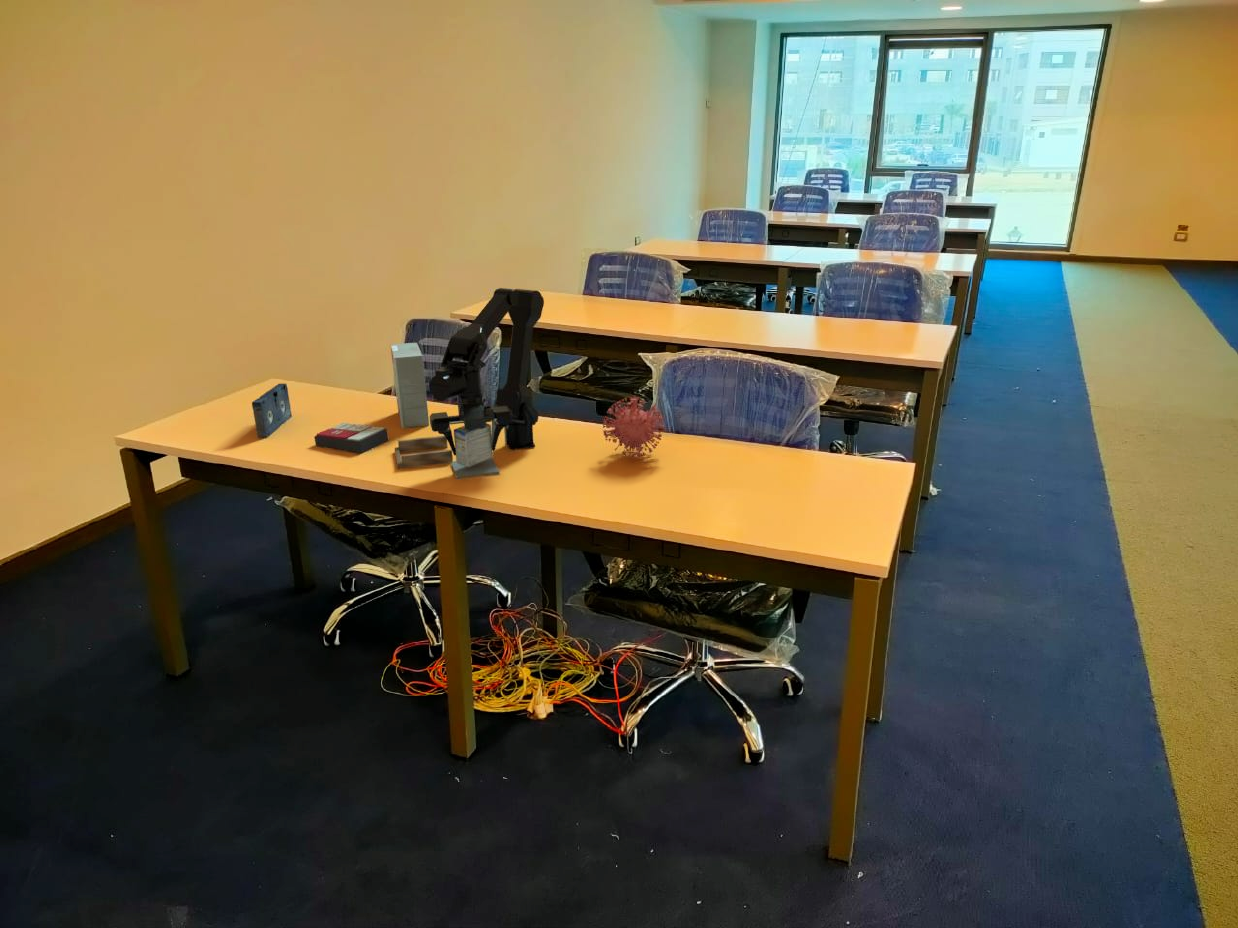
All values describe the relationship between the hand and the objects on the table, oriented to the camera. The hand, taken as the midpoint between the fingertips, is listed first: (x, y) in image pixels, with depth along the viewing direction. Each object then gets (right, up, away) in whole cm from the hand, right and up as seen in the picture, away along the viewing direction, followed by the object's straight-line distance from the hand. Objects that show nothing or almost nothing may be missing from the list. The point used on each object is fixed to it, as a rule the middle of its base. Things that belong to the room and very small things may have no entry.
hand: (474, 452), depth 203 cm
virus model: (+38, -1, +8) cm, 39 cm away
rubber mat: (0, -4, +1) cm, 4 cm away
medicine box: (0, -2, +1) cm, 2 cm away
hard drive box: (-23, +10, +38) cm, 45 cm away
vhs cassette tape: (-60, +7, +32) cm, 68 cm away
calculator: (-35, +2, +19) cm, 40 cm away
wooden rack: (-14, -1, +9) cm, 16 cm away
